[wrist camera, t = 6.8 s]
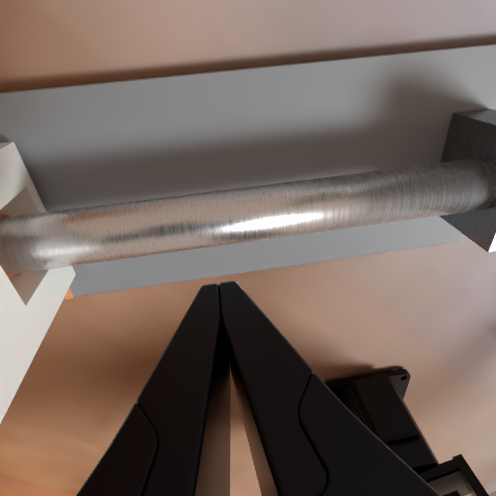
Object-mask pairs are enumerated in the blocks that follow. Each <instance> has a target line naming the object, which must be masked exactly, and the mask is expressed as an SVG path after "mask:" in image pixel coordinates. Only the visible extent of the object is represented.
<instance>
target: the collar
mask: <svg viewBox="0 0 496 496" xmlns="http://www.w3.org/2000/svg"><path fill="white" fill-rule="evenodd" d="M43 212H46V210H45V207H44V205H43V203H42V201H41V199H40V197H39V195H38V193H37V190H36V188H35V186H34V184H33V182H32V180H31V178H30V176H29V173H28V171H27V169H26V167H25V165H24V163H23V161H22V158H21V156H20V154H19V152H18V150H17V148H16V146H15V144H14V142H6V143H0V215H9V216H19V215H27V214H35V213H43ZM75 275H76V274H75V271H74V269H73V267H72V266H69V267H61V268H54V269H47V270H40V271H32V272H25V273H22V274H21V275H19V276H16V277H9V278H8V277H7V275H6V274H5V272H4V270H3V269H2V267H1V265H0V423H1V421H2V419H3V417H4V415H5V414H6V412H7V410H8V408H9V406H10V404H11V402H12V400H13V398H14V396H15V394H16V392H17V390H18V388H19V386H20V384H21V382H22V380H23V378H24V376H25V374H26V372H27V370H28V368H29V366H30V364H31V362H32V360H33V358H34V356H35V354H36V352H37V350H38V348H39V346H40V344H41V342H42V340H43V338H44V336H45V334H46V332H47V330H48V329H49V327H50V325H51V323H52V321H53V319H54V317H55V315H56V313H57V311H58V309H59V307H60V305H61V303H62V301H63V299H64V297H65V295H66V293H67V291H68V289H69V287H70V285H71V283H72V281H73V279H74V277H75Z"/></svg>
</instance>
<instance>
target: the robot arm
mask: <svg viewBox="0 0 496 496" xmlns="http://www.w3.org/2000/svg"><path fill="white" fill-rule="evenodd" d="M230 368H231V373H232V378H233V382H234V386H235V390H236V394H237V398H238V402H239V406H240V410H241V414H242V418H243V422H244V426H245V430H246V434H247V438H248V442H249V446H250V450H251V454H252V458H253V462H254V466H255V470H256V474H257V478H258V482H259V486H260V490H261V494H262V496H464V495H467V494H470V493H471V495H472V496H489V495H488V494H487V492H486V491H485V489H484V488H483V486H482V485H481V483H480V482H479V480H478V479H477V477H476V476H475V474H474V473H473V471H472V470H471V468H470V467H469V465H468V464H467V462H466V461H465V459H464V458H463V456H462V455H461V454H460V455H457V456H454V457H452V458H453V459H452V460H449V461H447V462H444V463H441V464H439V462H438V460H437V459H436V457H435V455H434V453H433V452H432V450H431V448H430V446H429V445H428V443H427V441H426V439H425V438H424V436H423V434H422V432H421V431H420V429H419V427H418V425H417V424H416V422H415V420H414V418H413V417H412V415H411V413H410V411H409V410H408V408H407V406H406V404H405V403H404V401H403V398H404V395H405V392H406V389H407V386H408V383H409V380H410V374H409V372H408V371H407V370H406V369H401V370H395V371H389V372H383V373H377V374H372V375H366V376H360V377H354V378H348V379H342V380H337V381H331V382H327V383H324V382H323V381H322V380H321V379H320V378H319V376H318V375H317V374H316V373H313V370H312V369H311V367H310V366H309V365H308V364H307V363H306V362H305V360H304V359H303V358H302V357H301V356H300V355H299V354H298V352H297V351H296V350H295V349H294V348H293V347H292V345H291V344H290V343H289V342H288V341H287V340H286V338H285V337H284V336H283V335H282V334H281V333H280V332H279V330H278V329H277V328H276V327H275V326H274V325H273V323H272V322H271V321H270V320H269V319H268V318H267V316H266V315H265V314H264V313H263V312H262V311H261V310H260V308H259V307H258V306H257V305H256V304H255V303H254V301H253V300H252V299H251V298H250V297H249V296H248V294H247V293H246V292H245V291H244V290H243V289H242V288H241V286H240V285H239V284H238V283H237V282H236V281H229V282H222V283H220V285H218V284H217V283H215V284H208V285H203V286H202V287H201V288H200V290H199V292H198V294H197V295H196V297H195V299H194V301H193V302H192V304H191V306H190V308H189V309H188V311H187V313H186V315H185V316H184V318H183V320H182V322H181V323H180V325H179V327H178V329H177V330H176V332H175V334H174V336H173V337H172V339H171V341H170V343H169V344H168V346H167V348H166V350H165V351H164V353H163V355H162V357H161V358H160V360H159V362H158V364H157V365H156V367H155V369H154V371H153V372H152V374H151V376H150V378H149V379H148V381H147V383H146V385H145V386H144V388H143V390H142V392H141V393H140V395H139V397H138V399H137V403H135V404H134V405H133V407H132V409H131V410H130V412H129V414H128V416H127V418H126V419H125V421H124V423H123V424H122V426H121V428H120V429H119V431H118V433H117V434H116V436H115V438H114V439H113V441H112V443H111V444H110V446H109V448H108V449H107V451H106V452H105V454H104V455H103V457H102V458H101V460H100V461H99V463H98V464H97V466H96V467H95V469H94V470H93V471H92V473H91V474H90V476H89V477H88V479H87V480H86V482H85V483H84V485H83V486H82V488H81V489H80V490H79V492H78V493H77V495H76V496H230V392H231V379H230Z"/></svg>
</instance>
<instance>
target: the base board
mask: <svg viewBox="0 0 496 496" xmlns="http://www.w3.org/2000/svg"><path fill="white" fill-rule="evenodd" d="M481 109H493V110H496V44H485V45H475V46H465V47H455V48H445V49H435V50H425V51H414V52H404V53H394V54H384V55H374V56H364V57H354V58H343V59H333V60H323V61H313V62H303V63H293V64H283V65H272V66H262V67H252V68H242V69H232V70H222V71H212V72H201V73H191V74H181V75H171V76H161V77H151V78H141V79H130V80H120V81H110V82H100V83H90V84H80V85H70V86H59V87H49V88H39V89H29V90H19V91H9V92H0V143H6V142H14V144H15V146H16V148H17V150H18V152H19V154H20V156H21V158H22V161H23V163H24V165H25V167H26V169H27V171H28V173H29V176H30V178H31V180H32V182H33V184H34V186H35V188H36V190H37V193H38V195H39V197H40V199H41V201H42V203H43V205H44V207H45V210H46V212H51V211H59V210H67V209H75V208H83V207H91V206H99V205H107V204H115V203H123V202H131V201H139V200H147V199H155V198H163V197H171V196H179V195H187V194H195V193H203V192H211V191H219V190H227V189H235V188H243V187H251V186H259V185H267V184H275V183H283V182H291V181H299V180H307V179H315V178H323V177H331V176H339V175H348V174H356V173H364V172H372V171H380V170H388V169H396V168H404V167H412V166H420V165H428V164H436V163H440V161H441V157H442V153H443V149H444V145H445V141H446V138H447V134H448V130H449V126H450V122H451V118H452V114H453V113H455V112H463V111H472V110H481ZM461 235H462V233H461V232H460V231H459V230H457V229H456V228H454V227H453V226H452V225H450V224H449V223H448V222H446V221H445V220H444V219H442V218H441V217H439V216H434V217H426V218H419V219H412V220H404V221H397V222H390V223H383V224H375V225H368V226H361V227H353V228H346V229H339V230H332V231H324V232H317V233H310V234H302V235H295V236H288V237H280V238H273V239H266V240H259V241H251V242H244V243H237V244H229V245H222V246H215V247H207V248H200V249H193V250H186V251H178V252H171V253H164V254H156V255H149V256H142V257H134V258H127V259H120V260H113V261H105V262H98V263H91V264H83V265H76V266H72V267H73V269H74V271H75V274H76V275H75V277H74V279H73V281H72V283H71V285H70V287H69V289H68V291H67V293H66V295H65V297H64V299H71V298H74V297H76V296H83V295H90V294H97V293H104V292H111V291H118V290H125V289H132V288H139V287H146V286H153V285H160V284H167V283H174V282H181V281H188V280H195V279H202V278H209V277H216V276H223V275H230V274H237V273H244V272H251V271H258V270H264V269H271V268H278V267H285V266H292V265H299V264H306V263H313V262H320V261H327V260H334V259H341V258H348V257H355V256H362V255H369V254H376V253H383V252H390V251H397V250H404V249H411V248H418V247H425V246H432V245H439V244H446V243H453V242H459V241H460V238H461ZM64 299H63V300H64Z"/></svg>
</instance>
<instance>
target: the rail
mask: <svg viewBox="0 0 496 496" xmlns="http://www.w3.org/2000/svg"><path fill="white" fill-rule="evenodd" d="M434 216H439V217H441V218H442V219H444V220H445V221H446V222H448V223H449V224H450V225H452V226H453V227H454V228H456V229H457V230H459V231H460V232H461V233H463V234H464V235H465V236H467V237H468V238H469V239H471V240H472V241H474V242H475V243H476V244H478V245H479V246H480V247H482V248H483V249H484V250H486V251H487V252H493V251H496V110H493V109H481V110H472V111H463V112H455V113H453V114H452V118H451V122H450V126H449V130H448V134H447V138H446V141H445V145H444V149H443V153H442V157H441V161H440V163H436V164H428V165H420V166H412V167H404V168H396V169H388V170H380V171H372V172H364V173H356V174H348V175H339V176H331V177H323V178H315V179H307V180H299V181H291V182H283V183H275V184H267V185H259V186H251V187H243V188H235V189H227V190H219V191H211V192H203V193H195V194H187V195H179V196H171V197H163V198H155V199H147V200H139V201H131V202H123V203H115V204H107V205H99V206H91V207H83V208H75V209H67V210H59V211H51V212H43V213H35V214H27V215H19V216H9V215H0V265H1V267H2V269H3V270H4V272H5V274H6V275H7V277H8V278H9V277H16V276H19V275H21V274H22V273H25V272H32V271H40V270H47V269H54V268H61V267H69V266H76V265H83V264H91V263H98V262H105V261H113V260H120V259H127V258H134V257H142V256H149V255H156V254H164V253H171V252H178V251H186V250H193V249H200V248H207V247H215V246H222V245H229V244H237V243H244V242H251V241H259V240H266V239H273V238H280V237H288V236H295V235H302V234H310V233H317V232H324V231H332V230H339V229H346V228H353V227H361V226H368V225H375V224H383V223H390V222H397V221H404V220H412V219H419V218H426V217H434Z"/></svg>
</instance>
